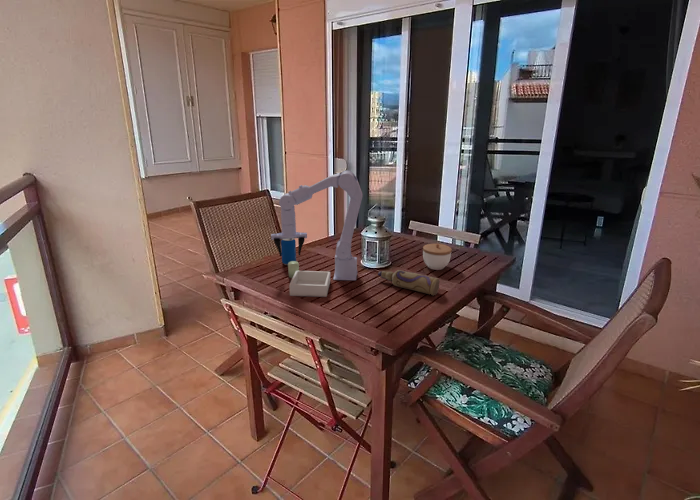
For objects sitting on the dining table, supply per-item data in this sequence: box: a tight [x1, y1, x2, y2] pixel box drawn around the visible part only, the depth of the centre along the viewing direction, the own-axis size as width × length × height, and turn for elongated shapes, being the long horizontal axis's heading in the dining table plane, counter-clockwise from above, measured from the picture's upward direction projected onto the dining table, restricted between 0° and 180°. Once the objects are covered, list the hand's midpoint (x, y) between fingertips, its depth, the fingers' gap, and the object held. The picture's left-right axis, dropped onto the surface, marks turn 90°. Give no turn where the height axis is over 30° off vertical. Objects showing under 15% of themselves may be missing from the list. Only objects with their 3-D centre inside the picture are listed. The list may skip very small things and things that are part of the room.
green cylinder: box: [287, 260, 300, 279], centre depth 168 cm, size 4×4×6 cm
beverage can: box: [280, 238, 297, 266], centre depth 181 cm, size 6×6×12 cm
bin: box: [289, 270, 331, 298], centre depth 156 cm, size 14×14×5 cm
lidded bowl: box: [422, 242, 453, 271], centre depth 179 cm, size 13×13×11 cm
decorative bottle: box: [377, 269, 441, 297], centre depth 159 cm, size 26×8×7 cm, turn 56°
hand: (290, 255), depth 166 cm, fingers open, 7 cm apart
